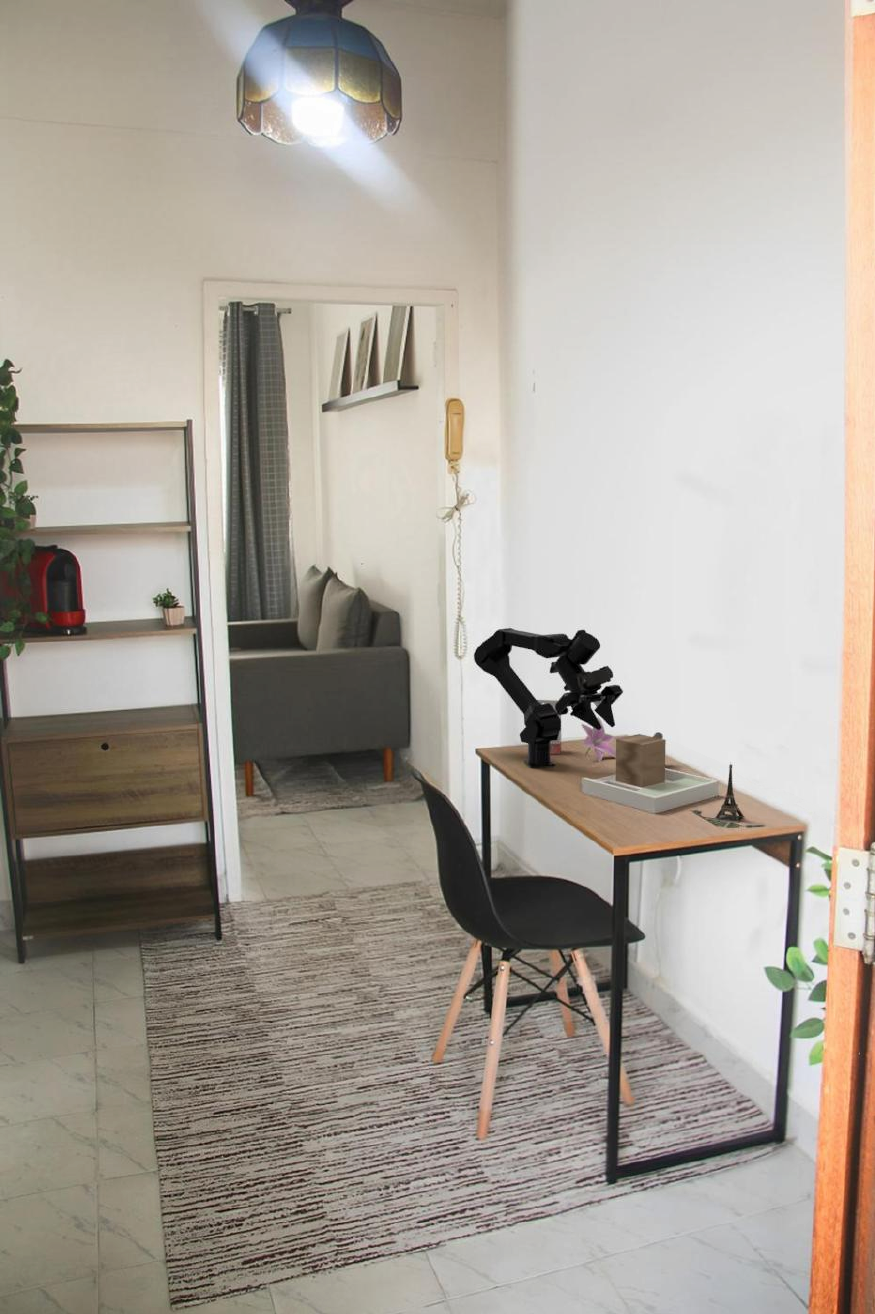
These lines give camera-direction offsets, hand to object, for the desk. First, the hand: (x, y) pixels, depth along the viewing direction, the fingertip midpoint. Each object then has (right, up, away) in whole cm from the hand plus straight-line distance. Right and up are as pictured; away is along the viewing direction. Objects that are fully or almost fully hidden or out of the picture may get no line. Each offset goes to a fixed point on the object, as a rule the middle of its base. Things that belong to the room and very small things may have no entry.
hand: (606, 727), depth 264 cm
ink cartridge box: (-11, -9, +34) cm, 37 cm away
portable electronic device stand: (+13, -11, +16) cm, 24 cm away
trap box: (+9, -15, -9) cm, 19 cm away
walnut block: (+7, -12, -7) cm, 15 cm away
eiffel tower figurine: (+22, -18, -27) cm, 39 cm away
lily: (+2, -10, +27) cm, 29 cm away
